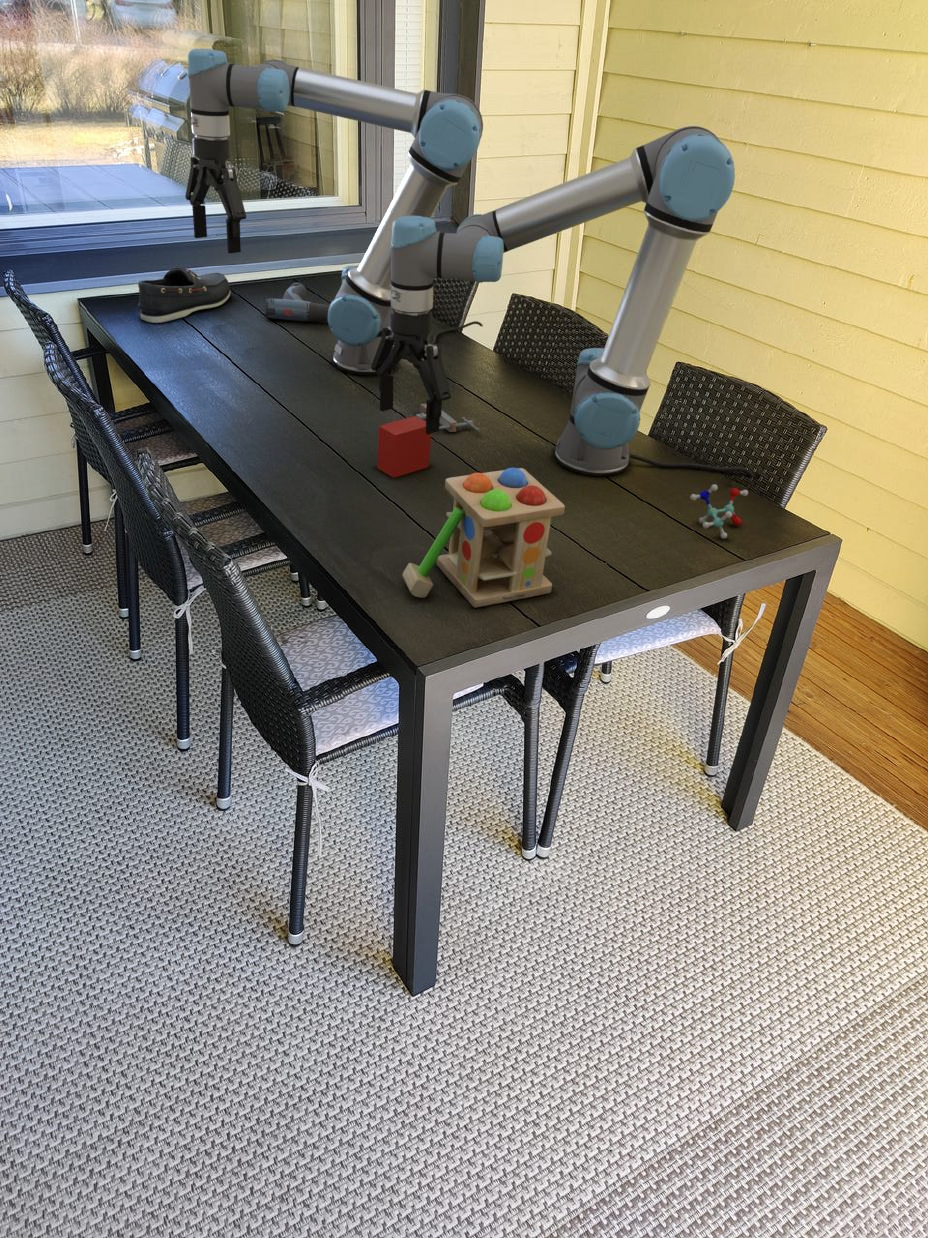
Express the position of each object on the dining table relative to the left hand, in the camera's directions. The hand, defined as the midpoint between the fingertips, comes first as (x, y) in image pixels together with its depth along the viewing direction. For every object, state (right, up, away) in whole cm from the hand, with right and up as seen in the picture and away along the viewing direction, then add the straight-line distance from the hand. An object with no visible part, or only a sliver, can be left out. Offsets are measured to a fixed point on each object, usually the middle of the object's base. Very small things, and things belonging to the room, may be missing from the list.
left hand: (217, 244), depth 212 cm
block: (+41, -51, -19) cm, 68 cm away
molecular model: (+100, -64, -29) cm, 122 cm away
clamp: (+49, -39, 0) cm, 63 cm away
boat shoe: (-21, +3, +51) cm, 55 cm away
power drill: (+10, +2, +55) cm, 56 cm away
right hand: (+43, -43, -24) cm, 65 cm away
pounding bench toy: (+54, -75, -52) cm, 106 cm away
